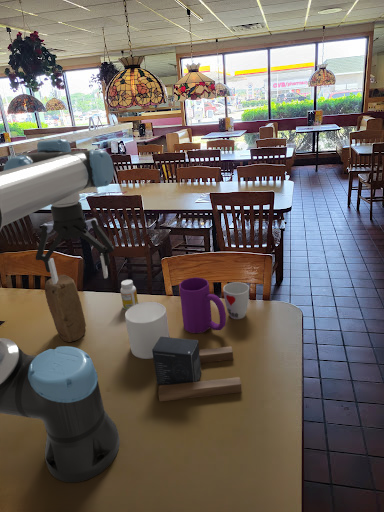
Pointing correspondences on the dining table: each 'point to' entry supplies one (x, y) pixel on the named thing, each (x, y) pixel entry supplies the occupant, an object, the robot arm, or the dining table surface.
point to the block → (65, 308)
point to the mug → (199, 306)
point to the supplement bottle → (128, 294)
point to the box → (176, 361)
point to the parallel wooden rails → (204, 386)
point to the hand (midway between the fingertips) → (81, 279)
